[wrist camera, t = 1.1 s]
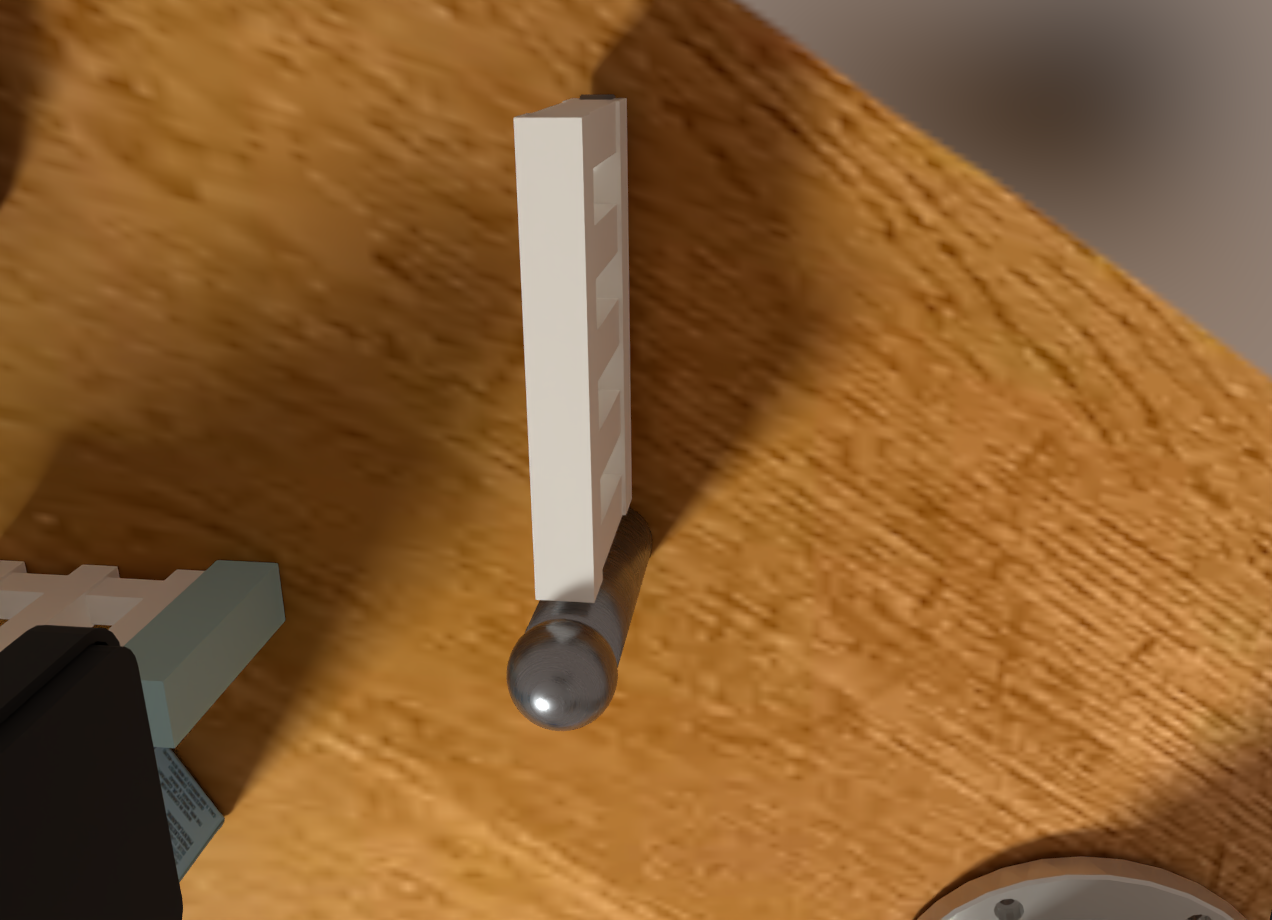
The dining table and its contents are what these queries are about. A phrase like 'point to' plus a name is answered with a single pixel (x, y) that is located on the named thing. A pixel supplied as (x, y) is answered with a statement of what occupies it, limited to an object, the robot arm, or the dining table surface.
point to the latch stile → (205, 643)
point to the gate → (575, 336)
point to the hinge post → (580, 640)
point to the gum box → (185, 810)
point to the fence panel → (83, 599)
